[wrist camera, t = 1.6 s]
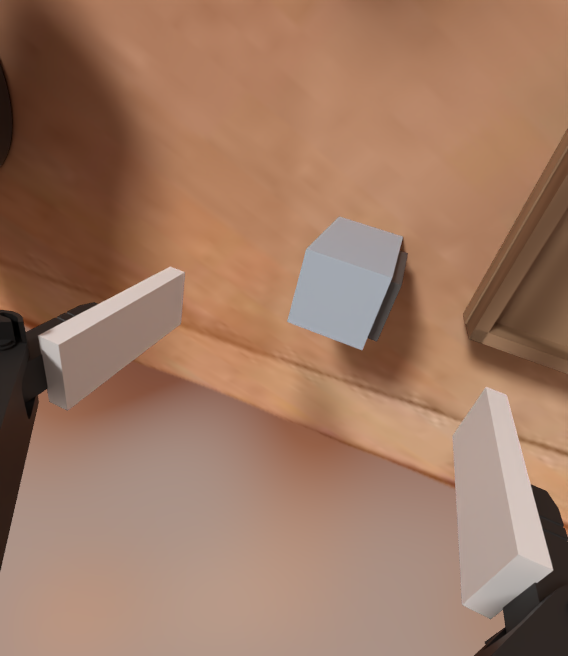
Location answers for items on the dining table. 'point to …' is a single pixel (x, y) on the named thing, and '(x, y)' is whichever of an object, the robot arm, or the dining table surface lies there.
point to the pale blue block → (349, 282)
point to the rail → (530, 277)
